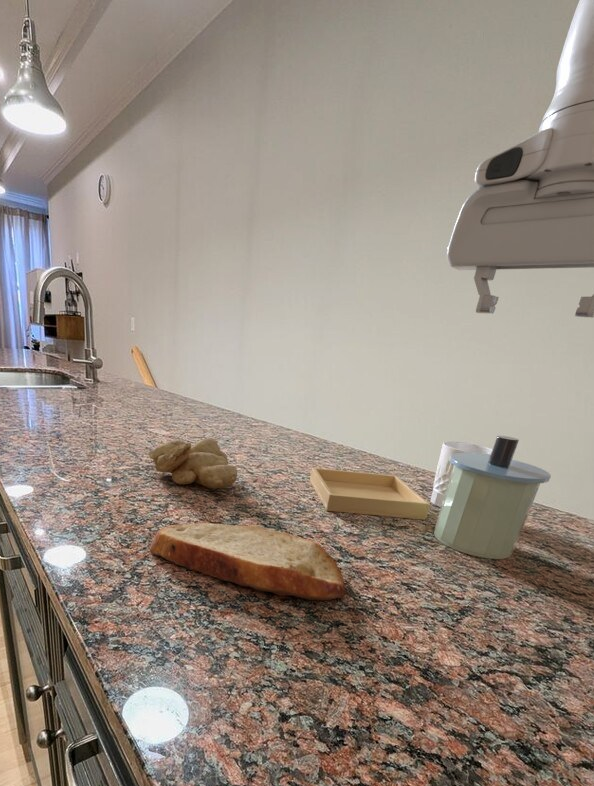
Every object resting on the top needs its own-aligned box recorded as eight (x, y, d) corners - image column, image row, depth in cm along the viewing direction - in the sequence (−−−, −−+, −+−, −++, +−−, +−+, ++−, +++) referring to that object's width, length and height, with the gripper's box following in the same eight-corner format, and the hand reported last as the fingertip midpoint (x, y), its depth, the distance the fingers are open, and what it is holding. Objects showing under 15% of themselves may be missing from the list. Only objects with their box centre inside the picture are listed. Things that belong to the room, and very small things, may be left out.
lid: (512, 465, 63) (524, 432, 61) (569, 492, 52) (585, 453, 51) (433, 457, 63) (443, 424, 61) (475, 483, 52) (488, 444, 51)
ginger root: (153, 453, 83) (165, 412, 80) (232, 483, 83) (248, 443, 80) (127, 481, 69) (139, 433, 66) (222, 517, 69) (240, 471, 66)
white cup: (487, 516, 72) (509, 456, 68) (439, 512, 71) (458, 451, 68) (462, 499, 79) (480, 443, 75) (418, 495, 79) (434, 439, 75)
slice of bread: (142, 540, 53) (143, 511, 52) (272, 526, 60) (276, 500, 59) (198, 632, 38) (202, 594, 37) (363, 599, 45) (371, 567, 44)
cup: (487, 530, 66) (511, 462, 62) (528, 562, 57) (560, 484, 53) (422, 524, 66) (442, 455, 62) (453, 555, 57) (479, 477, 53)
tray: (392, 489, 81) (396, 475, 80) (425, 520, 68) (430, 504, 67) (309, 481, 81) (312, 467, 80) (326, 510, 68) (329, 494, 67)
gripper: (739, 147, 38) (662, 322, 43) (482, 183, 52) (447, 313, 57) (741, 119, 34) (656, 317, 39) (461, 167, 48) (426, 309, 53)
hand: (531, 315), depth 48 cm, fingers open, 8 cm apart
